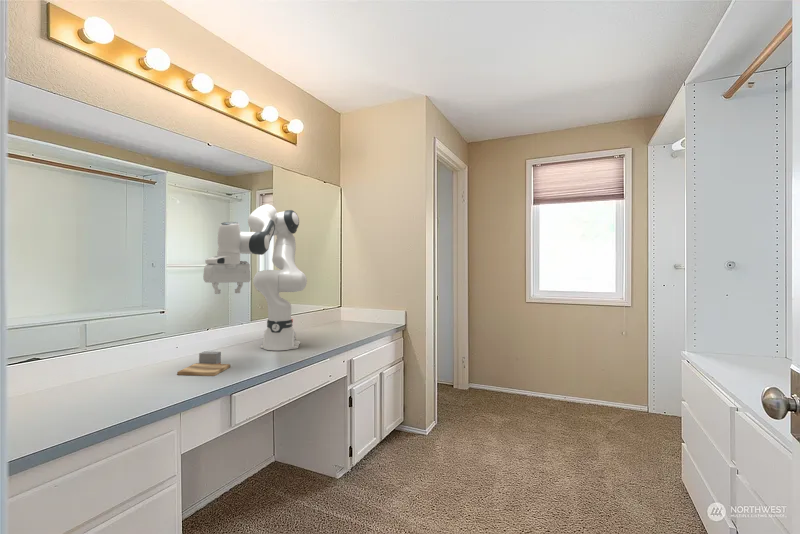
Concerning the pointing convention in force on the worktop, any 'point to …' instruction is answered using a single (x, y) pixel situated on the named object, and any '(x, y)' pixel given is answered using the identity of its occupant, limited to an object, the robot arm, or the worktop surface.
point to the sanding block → (210, 357)
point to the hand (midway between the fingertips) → (227, 293)
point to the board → (204, 369)
